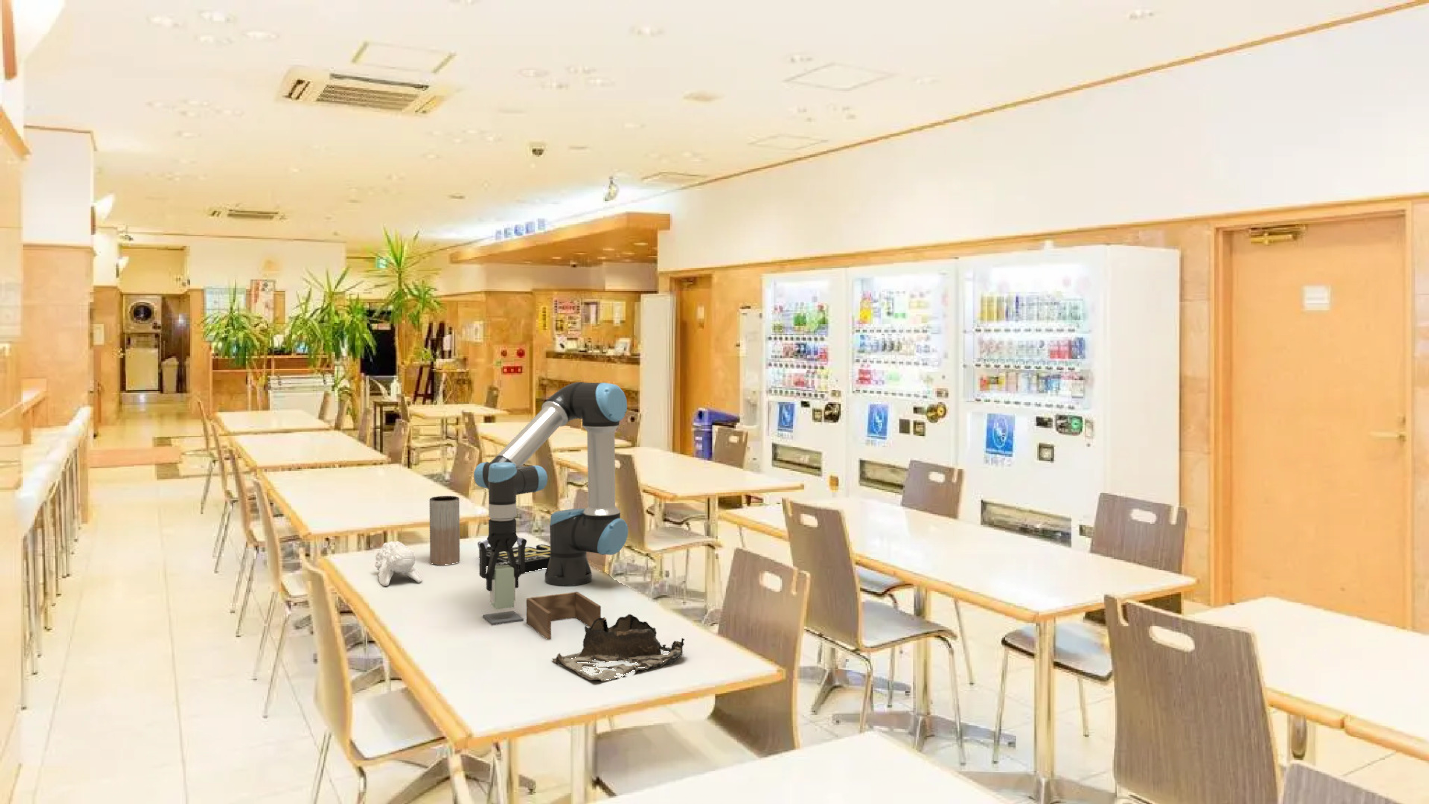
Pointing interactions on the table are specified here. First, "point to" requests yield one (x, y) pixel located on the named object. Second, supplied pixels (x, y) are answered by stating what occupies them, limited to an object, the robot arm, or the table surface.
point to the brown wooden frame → (559, 610)
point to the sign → (533, 557)
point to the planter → (444, 530)
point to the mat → (503, 617)
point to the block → (504, 587)
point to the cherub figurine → (395, 562)
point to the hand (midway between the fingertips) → (502, 600)
